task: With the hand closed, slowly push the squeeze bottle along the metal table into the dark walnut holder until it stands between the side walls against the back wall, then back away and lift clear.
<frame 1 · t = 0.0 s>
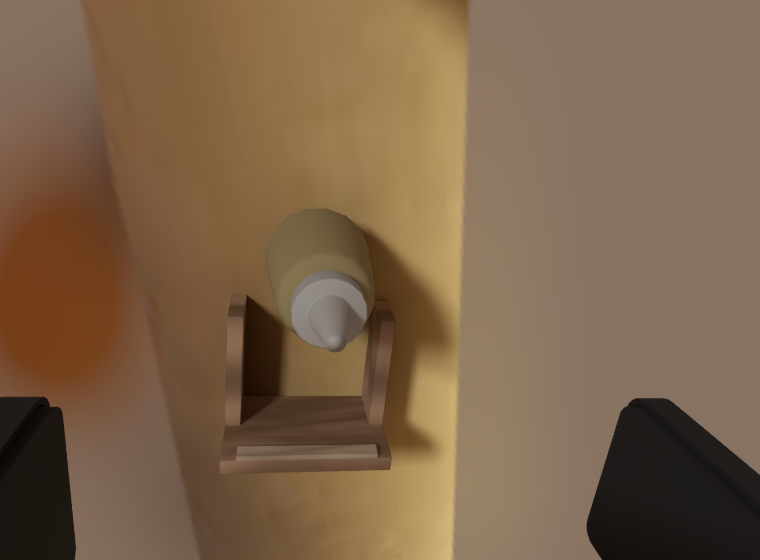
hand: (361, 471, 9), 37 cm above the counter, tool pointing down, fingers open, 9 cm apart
walnut holder: (306, 354, 49), on the counter
squeeze bottle: (315, 244, 46), on the counter
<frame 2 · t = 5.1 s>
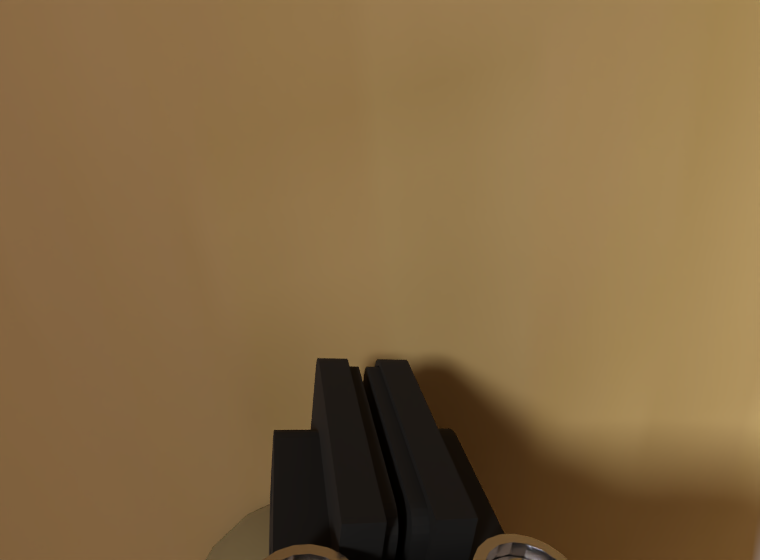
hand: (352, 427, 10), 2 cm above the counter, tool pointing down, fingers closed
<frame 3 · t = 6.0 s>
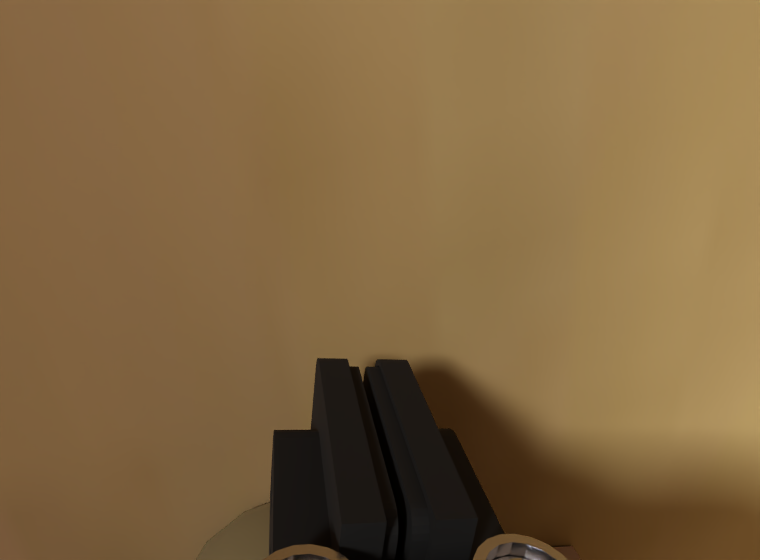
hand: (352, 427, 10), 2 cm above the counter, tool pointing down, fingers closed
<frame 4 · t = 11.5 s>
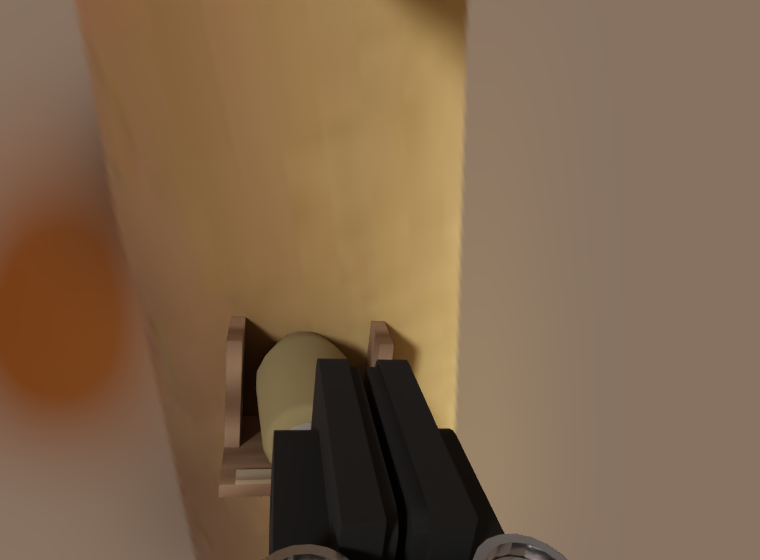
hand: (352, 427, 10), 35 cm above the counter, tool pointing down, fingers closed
walnut holder: (305, 375, 49), on the counter
squeeze bottle: (302, 358, 49), on the counter
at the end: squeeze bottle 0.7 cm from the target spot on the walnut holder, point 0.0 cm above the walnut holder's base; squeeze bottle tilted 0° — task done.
